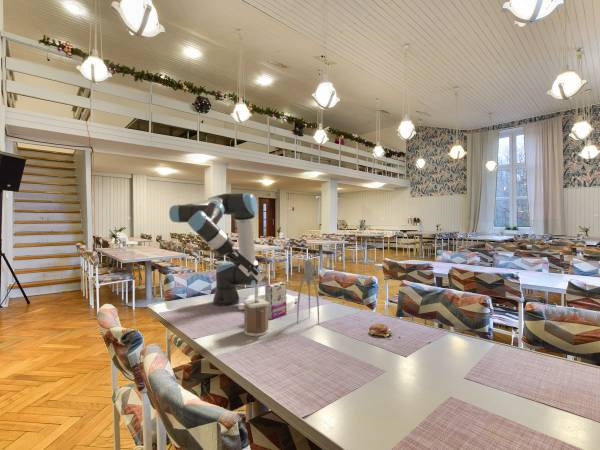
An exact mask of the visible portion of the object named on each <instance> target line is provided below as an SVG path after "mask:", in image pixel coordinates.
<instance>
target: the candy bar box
mask: <svg viewBox="0 0 600 450" xmlns="http://www.w3.org/2000/svg"><path fill="white" fill-rule="evenodd" d="M264 293H265V301H267V302H269V303H270V305H269V306H268V320H274V319H277V318H280V317H282V316H286V315H287V311H286V294H287V282H282V281H279V282H275V283H270V284H266V285H264Z"/></svg>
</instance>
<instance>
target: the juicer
mask: <svg viewBox="0 0 600 450" xmlns="http://www.w3.org/2000/svg"><path fill="white" fill-rule="evenodd" d="M313 263H314V262H313V261H312V260H311V259H309V258H308V259H306V260H305V262H304V265H303V266H304V267H303V268H304V269H303V271H304V276H301V280H300V285H299V290H298V295H297V297H298V302H297V308H296V315H297V316H296V323H297V324H299V311H300V299H301V291H302V288H303V285H304V281H305V282H306V286H307V288H308V289H307V290H308V291H307V292H308V293H307V295H308V318H309V319H310V316H311V315H310V314H311V285H312V284H311V283H312V281H313V286H314V289H315V297H316V306H317V324H320V305H319V304H320V302H319V293H318V286H317V282H316V277H315V276H313V274H314V273H313V272H314V264H313Z"/></svg>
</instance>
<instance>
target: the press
mask: <svg viewBox="0 0 600 450" xmlns="http://www.w3.org/2000/svg"><path fill="white" fill-rule="evenodd" d="M242 303H244V304H245V305H244V309H243V310H244V311H243V312H244V315H243V316H244V317H243V318H244V322H243V323H244V325H243V327H244V329H243V331H244V332H243V333H244V335H246V336H249V337H261V336H264V335H267V334H268V333H269V319H268V306H269V305H270V303H269V302H267V301H265V300H263V299H258V303H255V300H248V301H245V300H243V302H242Z"/></svg>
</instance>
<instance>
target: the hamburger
mask: <svg viewBox="0 0 600 450" xmlns="http://www.w3.org/2000/svg"><path fill="white" fill-rule="evenodd" d="M368 329H369V333H370V335H373V334H374V335H373V336H376V335H377V336H378V337H385V338H386V337H387V336H388V337H390V335H393V332H391V331H392V330H391V328H390V327H388V326H387V325H386V324H384V323H376V324H372V325H371V326H370V327H369V328H368ZM377 336H376V337H377Z"/></svg>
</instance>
